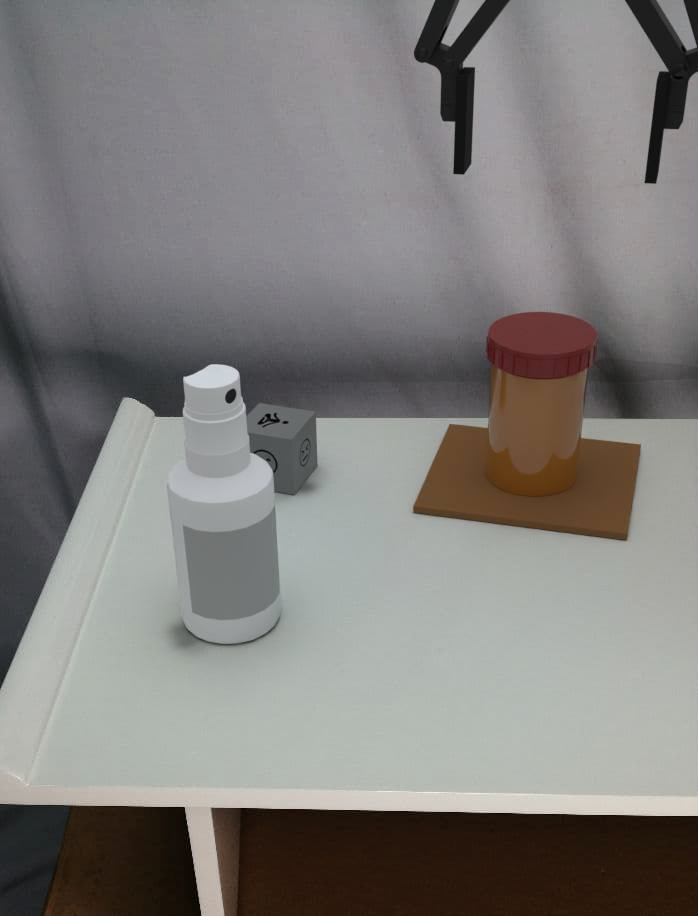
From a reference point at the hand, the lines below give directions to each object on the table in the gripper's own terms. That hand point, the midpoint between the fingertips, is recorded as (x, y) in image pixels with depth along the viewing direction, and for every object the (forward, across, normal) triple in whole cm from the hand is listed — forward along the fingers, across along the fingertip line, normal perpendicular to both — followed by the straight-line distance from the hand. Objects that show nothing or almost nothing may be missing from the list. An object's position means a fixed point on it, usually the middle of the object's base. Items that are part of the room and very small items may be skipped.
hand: (554, 173), depth 81 cm
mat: (+24, 0, 0) cm, 24 cm away
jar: (+24, 0, 0) cm, 24 cm away
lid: (+12, 0, 0) cm, 12 cm away
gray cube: (+25, +20, +4) cm, 32 cm away
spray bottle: (+25, +17, +23) cm, 38 cm away
